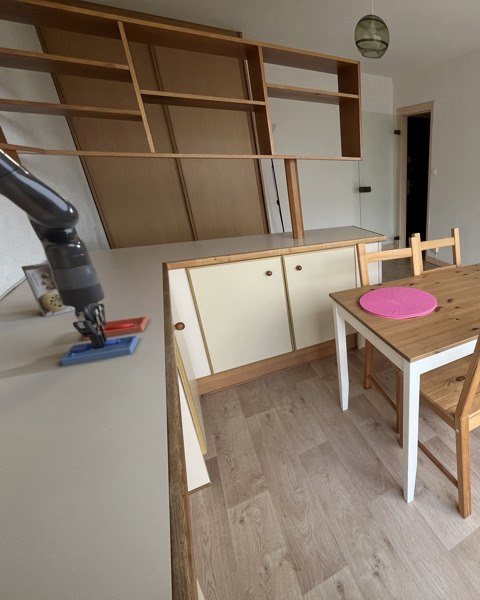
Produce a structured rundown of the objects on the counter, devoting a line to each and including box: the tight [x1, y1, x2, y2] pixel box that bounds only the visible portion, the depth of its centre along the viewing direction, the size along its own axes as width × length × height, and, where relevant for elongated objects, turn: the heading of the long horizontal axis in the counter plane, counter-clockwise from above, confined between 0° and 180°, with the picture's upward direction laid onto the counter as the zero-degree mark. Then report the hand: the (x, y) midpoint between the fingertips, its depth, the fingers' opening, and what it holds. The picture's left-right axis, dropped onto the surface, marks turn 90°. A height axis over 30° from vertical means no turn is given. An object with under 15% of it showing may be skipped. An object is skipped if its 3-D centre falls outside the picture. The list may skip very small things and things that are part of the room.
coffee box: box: [21, 262, 75, 317], centre depth 102 cm, size 9×6×16 cm
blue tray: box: [60, 334, 139, 367], centre depth 82 cm, size 13×8×2 cm, turn 118°
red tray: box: [81, 316, 149, 341], centre depth 93 cm, size 13×8×2 cm, turn 118°
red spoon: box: [103, 323, 134, 331], centre depth 93 cm, size 10×3×1 cm, turn 118°
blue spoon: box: [69, 338, 121, 353], centre depth 81 cm, size 10×3×1 cm, turn 118°
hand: (101, 345), depth 81 cm, fingers closed on blue spoon, 1 cm apart
